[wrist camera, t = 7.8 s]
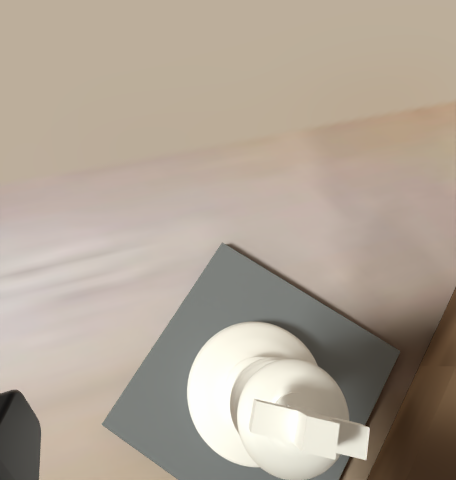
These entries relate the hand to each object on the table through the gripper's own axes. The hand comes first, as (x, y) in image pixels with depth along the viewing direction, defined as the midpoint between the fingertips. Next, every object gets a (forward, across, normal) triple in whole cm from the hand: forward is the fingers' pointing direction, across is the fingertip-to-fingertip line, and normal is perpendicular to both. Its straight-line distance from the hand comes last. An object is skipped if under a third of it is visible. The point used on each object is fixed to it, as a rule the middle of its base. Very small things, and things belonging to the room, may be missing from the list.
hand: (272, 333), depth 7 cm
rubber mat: (+5, 0, +7) cm, 9 cm away
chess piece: (+5, 0, +7) cm, 9 cm away
